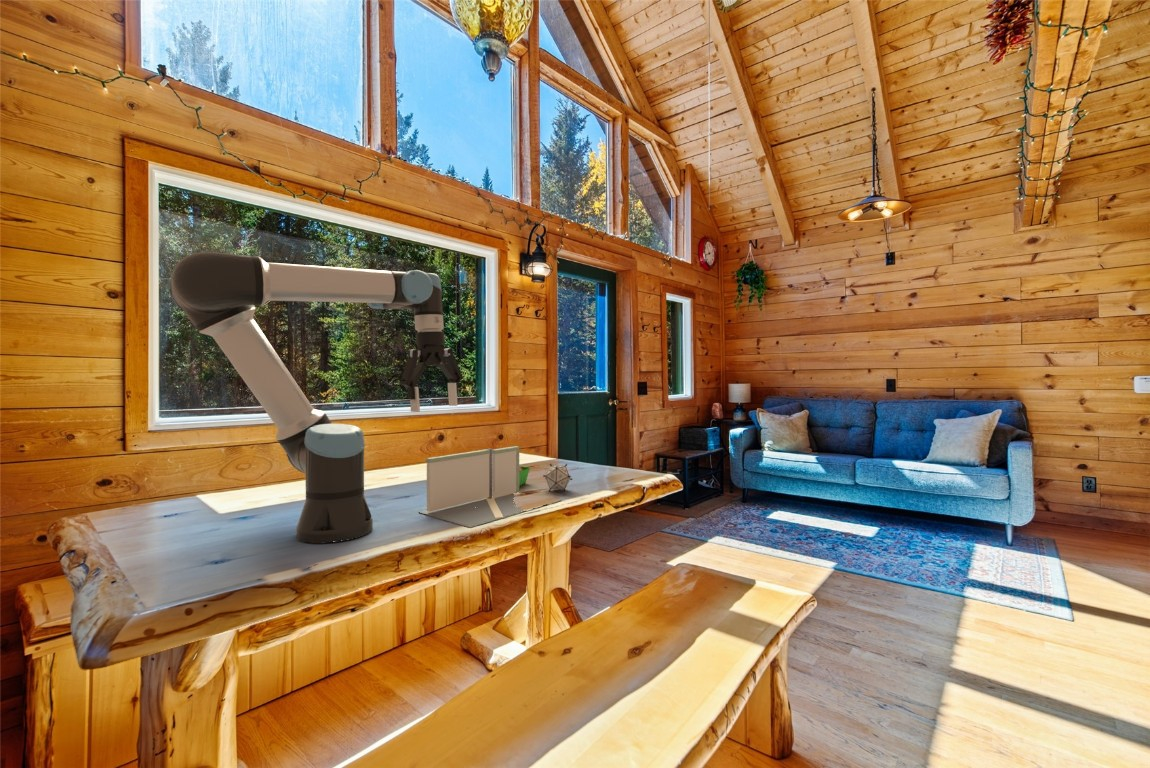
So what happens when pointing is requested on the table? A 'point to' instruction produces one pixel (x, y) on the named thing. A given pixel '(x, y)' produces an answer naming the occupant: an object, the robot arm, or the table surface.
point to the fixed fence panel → (505, 471)
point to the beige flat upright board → (458, 479)
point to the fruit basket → (523, 474)
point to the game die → (557, 477)
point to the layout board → (478, 511)
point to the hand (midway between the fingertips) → (435, 408)
